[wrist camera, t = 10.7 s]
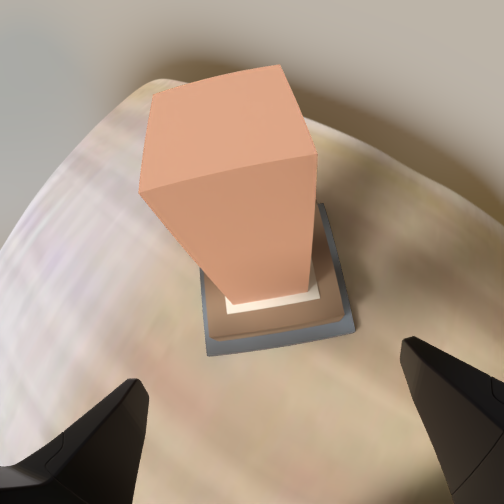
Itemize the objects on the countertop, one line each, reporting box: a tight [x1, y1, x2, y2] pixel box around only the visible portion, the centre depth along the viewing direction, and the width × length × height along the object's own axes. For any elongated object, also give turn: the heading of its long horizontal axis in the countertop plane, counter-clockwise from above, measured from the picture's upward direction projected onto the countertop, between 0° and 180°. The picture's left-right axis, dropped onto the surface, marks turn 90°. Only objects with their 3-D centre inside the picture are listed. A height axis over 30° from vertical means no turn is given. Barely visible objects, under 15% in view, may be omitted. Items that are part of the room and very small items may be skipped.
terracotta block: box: [138, 65, 318, 305], centre depth 14 cm, size 5×5×13 cm
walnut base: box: [200, 199, 355, 356], centre depth 22 cm, size 11×11×3 cm
